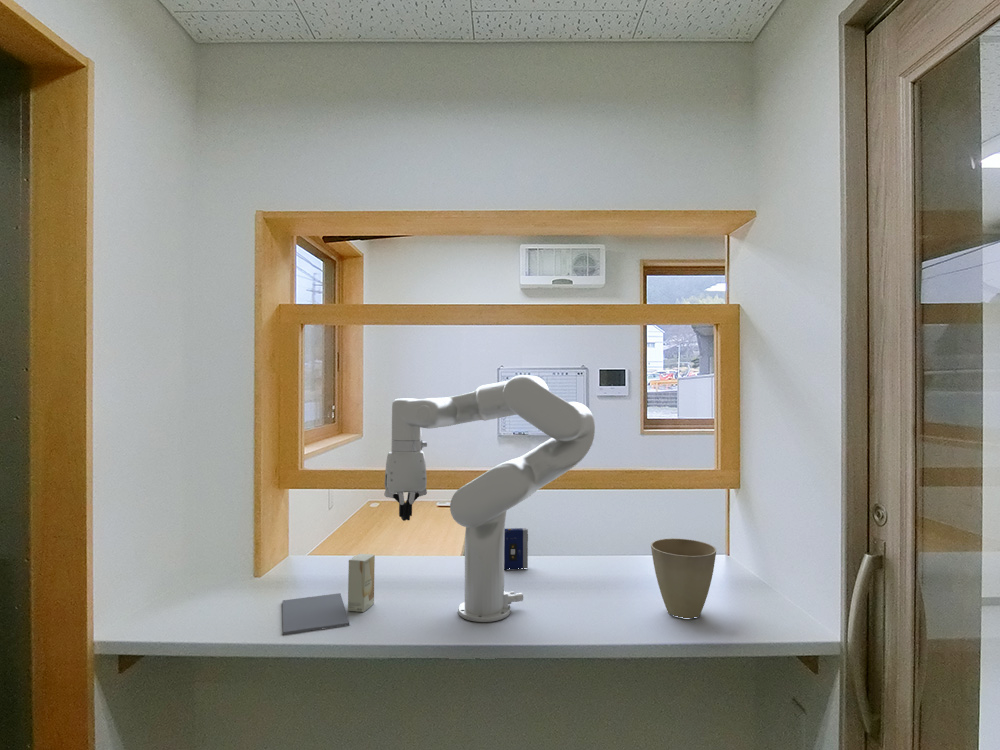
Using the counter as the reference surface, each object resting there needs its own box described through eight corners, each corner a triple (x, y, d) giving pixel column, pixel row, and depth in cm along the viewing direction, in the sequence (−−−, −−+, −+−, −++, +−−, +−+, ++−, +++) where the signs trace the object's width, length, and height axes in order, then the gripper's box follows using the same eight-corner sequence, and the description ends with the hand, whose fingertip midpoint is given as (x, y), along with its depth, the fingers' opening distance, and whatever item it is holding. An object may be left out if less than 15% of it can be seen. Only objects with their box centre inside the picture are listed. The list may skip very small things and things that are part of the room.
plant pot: (638, 606, 139) (638, 541, 140) (688, 599, 144) (687, 536, 145) (678, 630, 125) (677, 558, 126) (731, 621, 130) (730, 551, 131)
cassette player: (503, 570, 167) (503, 529, 168) (502, 567, 170) (502, 527, 170) (528, 569, 168) (528, 529, 168) (527, 567, 170) (527, 527, 171)
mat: (340, 595, 146) (340, 593, 147) (349, 625, 128) (349, 622, 128) (282, 602, 141) (282, 600, 141) (283, 635, 123) (283, 632, 123)
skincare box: (363, 613, 135) (364, 561, 135) (347, 611, 136) (347, 560, 136) (375, 603, 141) (375, 553, 142) (359, 601, 142) (359, 552, 143)
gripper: (431, 444, 150) (430, 514, 150) (374, 446, 145) (373, 518, 144) (438, 447, 143) (437, 520, 143) (379, 449, 138) (378, 525, 137)
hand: (405, 519), depth 143 cm, fingers closed
